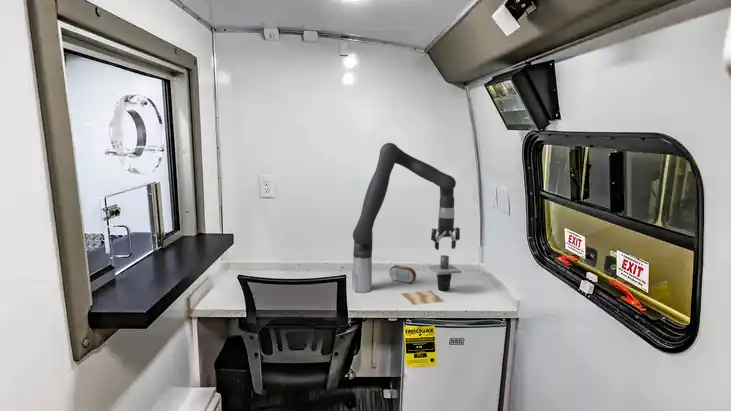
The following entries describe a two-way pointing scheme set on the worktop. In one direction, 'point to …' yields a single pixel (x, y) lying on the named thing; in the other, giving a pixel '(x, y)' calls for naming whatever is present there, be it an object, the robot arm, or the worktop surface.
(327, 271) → the worktop surface
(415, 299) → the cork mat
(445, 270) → the lid
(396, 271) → the tin
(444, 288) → the dixie cup
